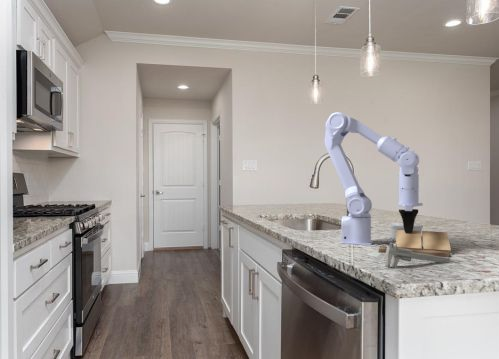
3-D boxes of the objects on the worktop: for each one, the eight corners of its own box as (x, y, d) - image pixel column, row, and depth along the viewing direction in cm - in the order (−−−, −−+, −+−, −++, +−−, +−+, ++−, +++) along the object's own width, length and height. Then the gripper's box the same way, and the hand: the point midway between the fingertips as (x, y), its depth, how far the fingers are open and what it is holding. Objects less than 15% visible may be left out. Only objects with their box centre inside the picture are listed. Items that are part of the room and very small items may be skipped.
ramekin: (381, 237, 139) (381, 223, 139) (403, 235, 144) (403, 221, 144) (406, 242, 129) (407, 227, 129) (429, 240, 134) (429, 225, 134)
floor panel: (378, 252, 110) (378, 248, 110) (379, 250, 114) (379, 246, 114) (448, 258, 104) (448, 253, 104) (447, 255, 107) (447, 250, 107)
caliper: (387, 269, 92) (388, 243, 92) (384, 268, 93) (385, 242, 93) (454, 263, 98) (454, 239, 98) (450, 262, 99) (450, 238, 99)
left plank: (395, 250, 113) (395, 246, 113) (396, 233, 123) (396, 229, 122) (421, 252, 111) (421, 248, 110) (420, 234, 120) (420, 231, 120)
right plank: (423, 252, 110) (423, 248, 110) (422, 234, 120) (422, 230, 120) (450, 254, 108) (450, 250, 107) (447, 235, 117) (447, 232, 117)
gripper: (423, 189, 112) (423, 236, 112) (421, 188, 125) (421, 230, 125) (397, 189, 114) (397, 234, 114) (398, 188, 128) (398, 228, 128)
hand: (408, 232), depth 120 cm, fingers closed
